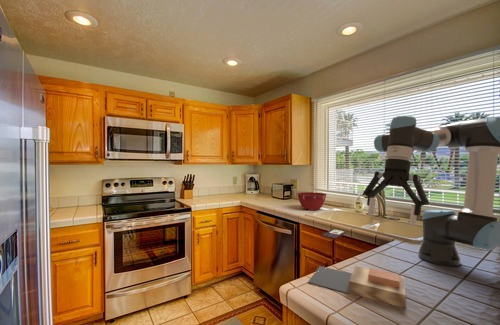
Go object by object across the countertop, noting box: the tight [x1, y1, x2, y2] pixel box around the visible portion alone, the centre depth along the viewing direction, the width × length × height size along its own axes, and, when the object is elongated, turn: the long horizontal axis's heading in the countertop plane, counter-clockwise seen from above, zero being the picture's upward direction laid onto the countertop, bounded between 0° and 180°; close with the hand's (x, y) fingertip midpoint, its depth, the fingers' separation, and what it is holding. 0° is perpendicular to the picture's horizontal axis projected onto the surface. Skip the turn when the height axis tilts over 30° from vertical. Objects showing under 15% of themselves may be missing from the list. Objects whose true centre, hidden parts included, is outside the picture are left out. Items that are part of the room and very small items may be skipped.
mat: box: [307, 265, 353, 295], centre depth 89 cm, size 14×16×1 cm
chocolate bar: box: [320, 228, 347, 240], centre depth 147 cm, size 9×1×18 cm
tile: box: [368, 267, 400, 288], centre depth 80 cm, size 9×6×2 cm, turn 59°
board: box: [349, 265, 407, 309], centre depth 81 cm, size 16×14×4 cm
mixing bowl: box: [296, 191, 327, 211], centre depth 232 cm, size 28×28×16 cm
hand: (389, 220), depth 80 cm, fingers open, 13 cm apart
